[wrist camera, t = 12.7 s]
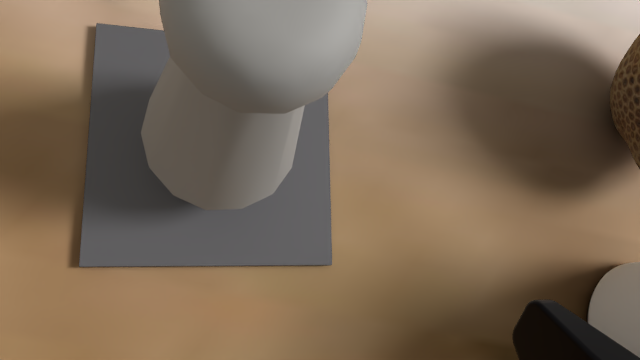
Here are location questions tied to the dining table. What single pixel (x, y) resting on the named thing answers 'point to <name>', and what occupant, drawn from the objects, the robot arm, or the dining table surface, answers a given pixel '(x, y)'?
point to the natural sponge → (628, 99)
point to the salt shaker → (242, 91)
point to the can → (618, 306)
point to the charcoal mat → (172, 212)
